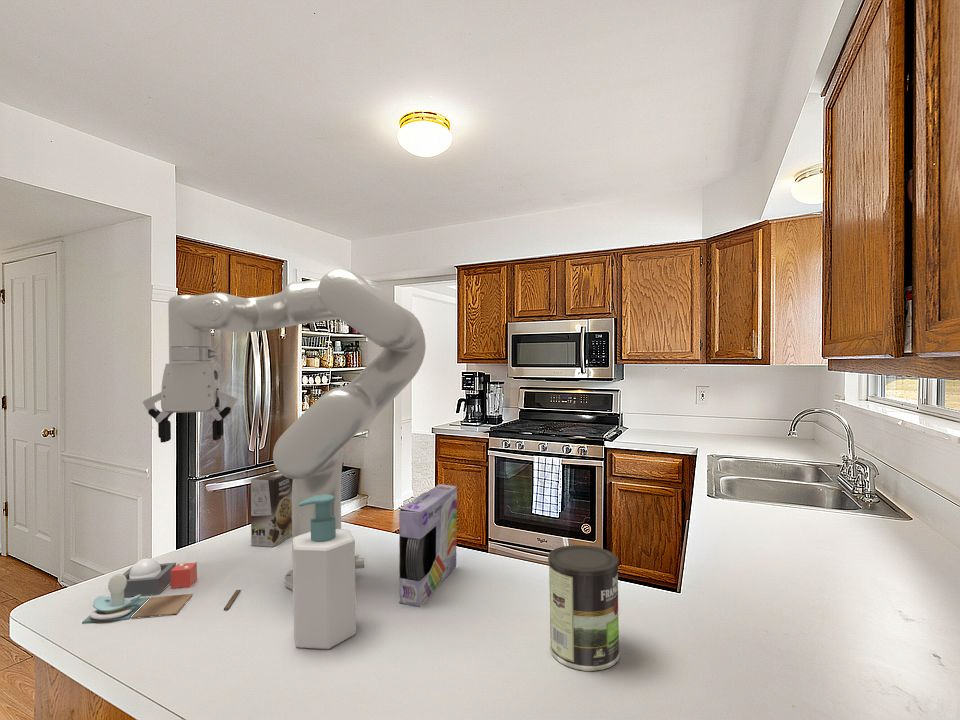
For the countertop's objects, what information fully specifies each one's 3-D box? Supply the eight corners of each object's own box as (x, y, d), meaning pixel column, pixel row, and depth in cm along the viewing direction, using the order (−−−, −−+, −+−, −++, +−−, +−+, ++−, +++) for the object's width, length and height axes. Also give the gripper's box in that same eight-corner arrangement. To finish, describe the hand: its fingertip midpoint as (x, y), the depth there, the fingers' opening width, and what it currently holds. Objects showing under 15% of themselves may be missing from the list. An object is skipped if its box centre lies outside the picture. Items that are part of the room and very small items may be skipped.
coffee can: (628, 644, 78) (627, 551, 78) (607, 680, 69) (605, 576, 69) (565, 626, 83) (564, 540, 83) (538, 657, 75) (536, 561, 75)
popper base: (201, 575, 106) (200, 556, 106) (185, 592, 98) (185, 572, 98) (133, 580, 104) (133, 561, 104) (112, 598, 96) (111, 578, 96)
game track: (240, 591, 98) (240, 589, 98) (228, 609, 91) (228, 608, 91) (106, 602, 94) (106, 601, 94) (82, 623, 86) (82, 621, 86)
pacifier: (125, 621, 87) (145, 603, 93) (124, 585, 87) (144, 569, 93) (80, 623, 86) (103, 605, 92) (78, 587, 86) (102, 571, 92)
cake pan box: (420, 611, 89) (418, 510, 89) (394, 607, 91) (393, 507, 91) (459, 568, 107) (458, 484, 107) (437, 565, 109) (436, 483, 109)
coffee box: (274, 547, 121) (273, 479, 121) (250, 546, 122) (249, 478, 122) (295, 534, 130) (294, 471, 130) (272, 533, 131) (272, 470, 131)
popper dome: (165, 579, 103) (165, 553, 103) (154, 590, 98) (153, 563, 98) (137, 581, 102) (137, 555, 102) (124, 593, 97) (123, 565, 97)
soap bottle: (292, 624, 85) (290, 492, 85) (348, 613, 89) (346, 486, 89) (296, 657, 76) (294, 508, 76) (359, 642, 79) (356, 501, 79)
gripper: (241, 356, 109) (242, 436, 109) (152, 357, 106) (153, 439, 106) (230, 355, 102) (231, 441, 102) (134, 356, 99) (135, 445, 99)
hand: (191, 440), depth 104 cm, fingers open, 9 cm apart
